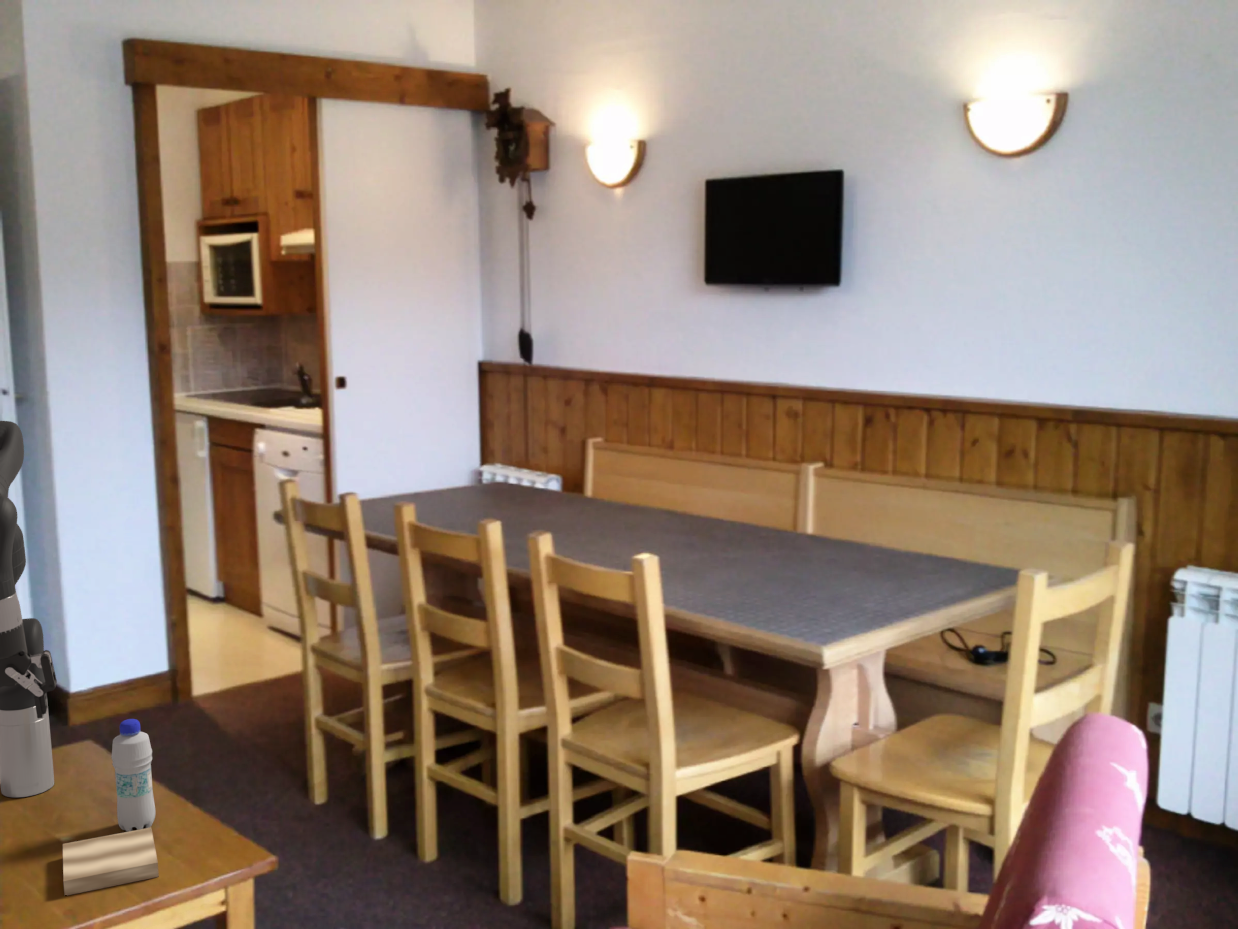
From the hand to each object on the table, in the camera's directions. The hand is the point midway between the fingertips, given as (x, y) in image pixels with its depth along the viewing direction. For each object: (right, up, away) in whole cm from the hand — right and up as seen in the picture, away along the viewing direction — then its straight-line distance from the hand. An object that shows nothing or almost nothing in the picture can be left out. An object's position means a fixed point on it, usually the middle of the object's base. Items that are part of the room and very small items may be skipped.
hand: (10, 721), depth 188 cm
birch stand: (+11, -27, +12) cm, 31 cm away
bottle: (+9, -25, +26) cm, 37 cm away
